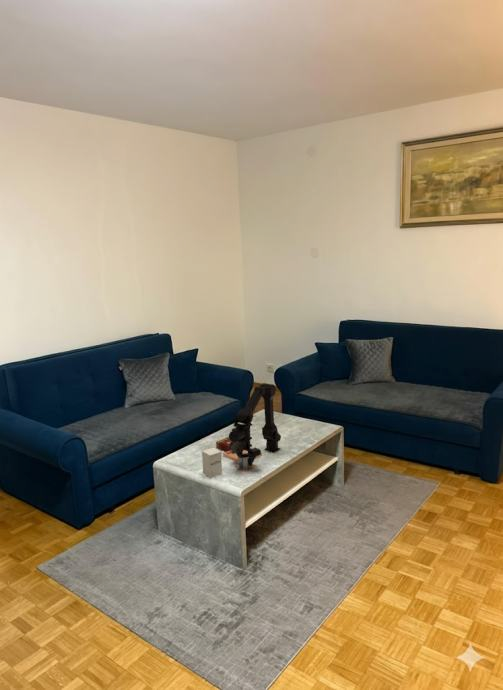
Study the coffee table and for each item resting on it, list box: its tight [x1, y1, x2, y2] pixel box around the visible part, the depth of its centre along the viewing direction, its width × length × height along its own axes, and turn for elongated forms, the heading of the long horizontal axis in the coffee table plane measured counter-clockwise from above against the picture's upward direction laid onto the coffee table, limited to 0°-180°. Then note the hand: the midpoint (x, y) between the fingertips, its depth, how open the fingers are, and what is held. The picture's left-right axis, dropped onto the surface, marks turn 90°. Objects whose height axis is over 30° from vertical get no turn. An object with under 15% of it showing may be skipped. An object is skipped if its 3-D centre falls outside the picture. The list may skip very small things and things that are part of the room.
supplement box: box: [201, 447, 223, 479], centre depth 255 cm, size 7×7×13 cm
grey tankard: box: [236, 453, 254, 471], centre depth 261 cm, size 9×7×6 cm
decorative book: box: [215, 436, 234, 454], centre depth 288 cm, size 11×16×5 cm
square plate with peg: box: [234, 463, 258, 473], centre depth 262 cm, size 9×9×4 cm
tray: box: [222, 447, 263, 464], centre depth 276 cm, size 15×15×2 cm
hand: (245, 463), depth 263 cm, fingers open, 8 cm apart
